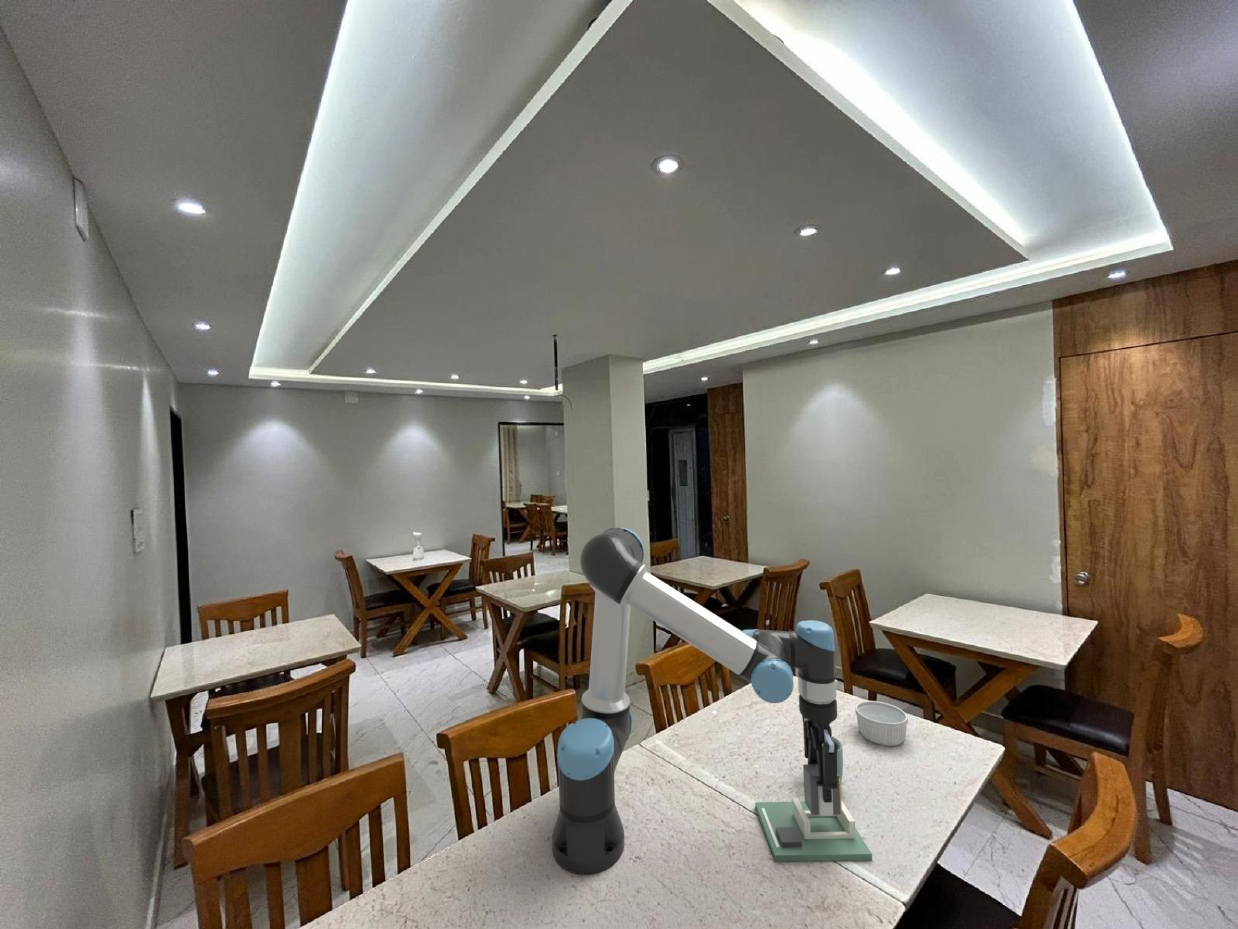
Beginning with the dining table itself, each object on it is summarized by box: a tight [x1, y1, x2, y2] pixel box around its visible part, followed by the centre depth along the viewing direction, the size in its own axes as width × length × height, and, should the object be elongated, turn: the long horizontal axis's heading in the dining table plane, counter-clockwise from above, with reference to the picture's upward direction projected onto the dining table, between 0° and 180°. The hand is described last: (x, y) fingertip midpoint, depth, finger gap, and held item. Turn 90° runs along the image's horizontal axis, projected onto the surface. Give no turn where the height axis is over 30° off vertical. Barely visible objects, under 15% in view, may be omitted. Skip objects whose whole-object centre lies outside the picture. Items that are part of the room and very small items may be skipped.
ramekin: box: [855, 700, 909, 747], centre depth 137 cm, size 13×13×7 cm
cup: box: [831, 736, 844, 783], centre depth 117 cm, size 8×8×10 cm
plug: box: [802, 763, 842, 815], centre depth 102 cm, size 7×4×8 cm, turn 89°
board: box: [754, 797, 873, 863], centre depth 102 cm, size 19×15×5 cm
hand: (821, 806), depth 102 cm, fingers closed on plug, 4 cm apart
